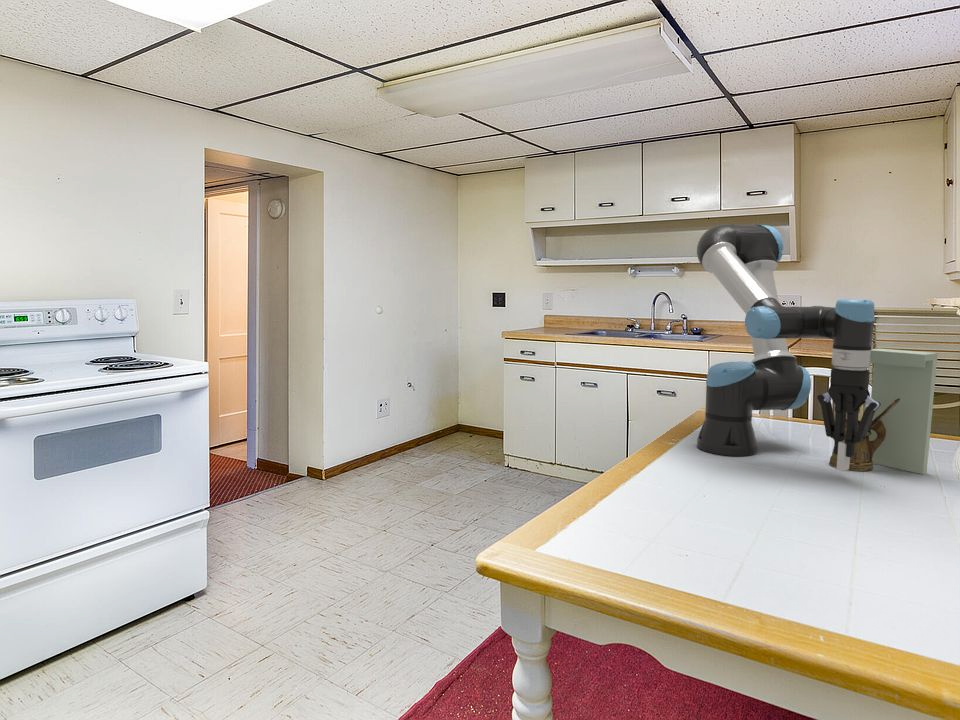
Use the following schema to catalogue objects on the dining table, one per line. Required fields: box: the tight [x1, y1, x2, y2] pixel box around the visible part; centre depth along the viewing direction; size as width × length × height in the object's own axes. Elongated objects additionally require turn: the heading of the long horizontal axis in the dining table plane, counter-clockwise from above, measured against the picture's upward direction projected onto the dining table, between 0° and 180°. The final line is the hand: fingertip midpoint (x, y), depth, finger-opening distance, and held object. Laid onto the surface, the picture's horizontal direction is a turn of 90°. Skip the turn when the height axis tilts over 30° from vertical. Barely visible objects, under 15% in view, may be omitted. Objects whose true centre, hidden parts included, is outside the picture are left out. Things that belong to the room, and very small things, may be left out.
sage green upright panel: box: [869, 348, 939, 475], centre depth 147 cm, size 12×6×28 cm, turn 33°
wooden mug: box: [828, 398, 900, 472], centre depth 148 cm, size 9×14×18 cm, turn 51°
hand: (842, 469), depth 142 cm, fingers closed
